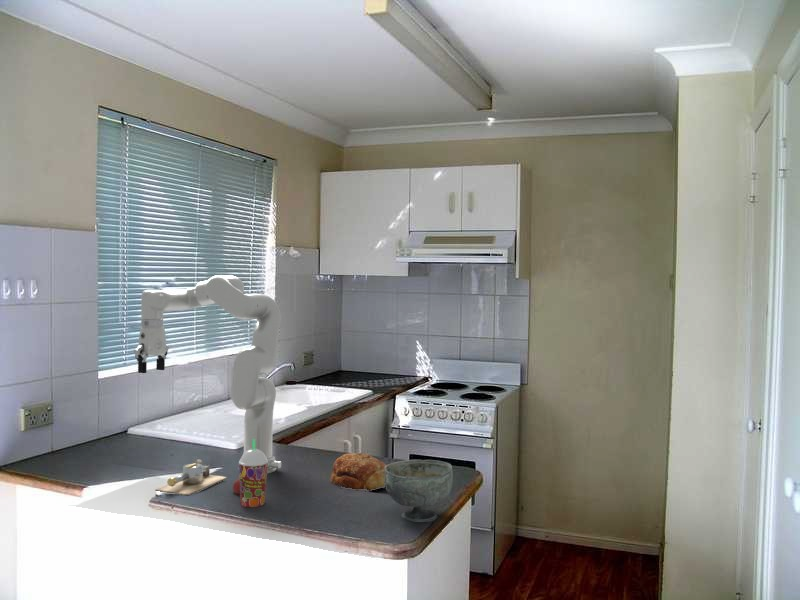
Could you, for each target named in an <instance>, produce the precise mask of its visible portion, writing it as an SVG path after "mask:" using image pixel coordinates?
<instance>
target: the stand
mask: <svg viewBox="0 0 800 600" xmlns="http://www.w3.org/2000/svg"><path fill="white" fill-rule="evenodd" d="M195 463H197V464H201V465H203V464H202V463H203V461H202V460H201V459H197V460H195ZM203 467H205V468H206V471H205V472H203V479H202V483H200V484H195V485H186V484H183V481H181V482H178V483H176V484H175V485H174V486H169V485H168V484H166V485H162V486H161V487H158V488H156V489H155V490H154V491H160V492H167V493H175V494H179V495H181V494H182V495H183V496H187V495H189V496H191V495H193V494H196V493H195V492H197V491H200V490H202V489H205V488H207V487H209V486H211V485H214V484H216V483H218V484H220V483H221V482H220V481H223V480H225V479H226V478H228V476H222V475H214V474H210V472H211V471H210V469H211V468H210V465H203ZM219 482H220V483H219ZM223 482H224V481H223ZM216 485H217V484H216ZM214 486H215V485H214Z"/></svg>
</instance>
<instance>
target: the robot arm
mask: <svg viewBox="0 0 800 600" xmlns="http://www.w3.org/2000/svg"><path fill="white" fill-rule="evenodd" d="M244 292H245V285H244V282H243V281H242V279H241V278H240V277H237V276H234V275H226V274H225V275H224V274H223V275H222V274H220V275H219V274H218V275H217V274H216V275H214V276H212V277H210V278H209V279H208V280H203V281H199V282H197V283H196V285H195V287H191V288H186V289H185V288H184V289H161V290H160V289H146V290H143V291H142V292H141V300H140V301H141V303H140V304H141V305H140V307H141V311H140V313H141V314H140V316H141V317H140V329H139V336H138V345H137V347H136V348H135V349H133V354H134V356H135V359H136V362H137V373H139V374H147V372H148V371H147V368H148V367H147V364H148V363H147V361H146V360H147V358H148V357H157V358H156V365H155V366H156V367H155V368H156V371H157V370H158V371H165V368H166V366H165V362H166V358H167V355H168V352H169V349H170V348H169V346H168V345H167V338H166V337H167V335H166V330H165V327H164V312H173V311H187V310H191V309H198V308H202V307H206V306H210V305H215V304H216V305H218V306H219V307H220V308H222V310H223V311H225V312H227V313H228V314H229V315H231V316H232V317H233V318H236V319H238V320H242V321H243V320H244V321H245V320H246V321H247V320H254V319H255V320H257V321H256V324H255V326H254V329H253V333H252V340H251V345H250V347H246V348H243V349H242V350H240V351H238V354H236V357H235V359H234V361H233V367H232V374H231V375H232V377H231V386H230V399H231V402H232V405H234V407H236V408H237V409H238V410H242V411H243V410H245V413H244V418H243V419H244V421H243V423H244V424H243V454H244V453H245V452H246V451H247V450H249V449H253V439H255V449H259V450H261V451H262V452H263V453H264V454H265V456H266V458H267V460H268V467H267V475H268V474H271V473H273V472H276V471H277V469H281V467H282V461H281V460H280V461H279V460H276V457H275V456H273V428H274V427H273V425H274V424H273V423H274V422H273V421H274V407H275V401H276V396H277V395H276V394H277V389H276V385H275V384H274V382H273V381H272V380H271V379H269V378H268V377H263V376H261V375H266V374H268V373H270V372H272V371H273V370H274V368H275V365H276V362H277V361H276V360H277V352H278V351H277V350H278V343H279V333H280V327H281V322H282V314H281V310H280V306H279V305H278V303H277V302H276V301H275V299H273V298H272V297H271V296H268V295H266V294H262V293H244Z"/></svg>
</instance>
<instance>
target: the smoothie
mask: <svg viewBox="0 0 800 600" xmlns="http://www.w3.org/2000/svg"><path fill="white" fill-rule="evenodd" d="M267 467H268V460H267V458H266V456H265V454H264V453H263V452H262V451H261V450H259V449H255V439H253V449H249V450H247V451H246V452H245V453H244V452H243V453H242V456H241V457H240V459H239V460H238V471H239V472H238V473H239V475H238V476H239V477H238V478H240V494H239V496H240V505H241V507H245V508H257V507H261V506H263V505H265V503H266V491H267V489H266V488H267V477H268V474H267Z"/></svg>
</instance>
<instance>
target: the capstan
mask: <svg viewBox="0 0 800 600" xmlns="http://www.w3.org/2000/svg"><path fill="white" fill-rule="evenodd" d="M205 471H206V468H205V467H203V464H197V463H196V462H195V463H188V464H184V465H183V466H182V474H180V475H177V476H175V477H169V478H168V479H167V480H166V481H167V482H166V483H167V484H166V485H169V486H174V485H175V484H176V483H178V482H181V481H183V484H186V485H195V484H200V483H202V479H203V472H205Z"/></svg>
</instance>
